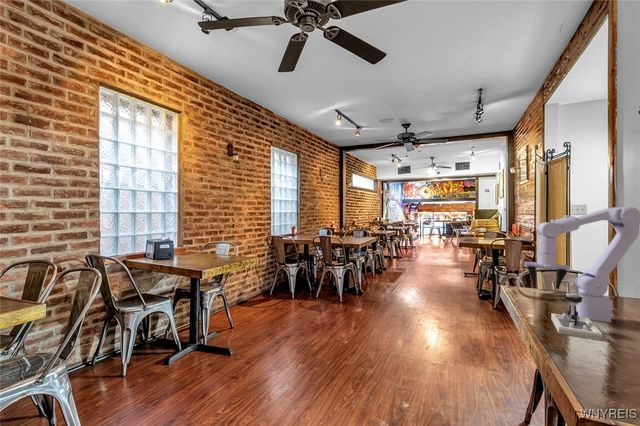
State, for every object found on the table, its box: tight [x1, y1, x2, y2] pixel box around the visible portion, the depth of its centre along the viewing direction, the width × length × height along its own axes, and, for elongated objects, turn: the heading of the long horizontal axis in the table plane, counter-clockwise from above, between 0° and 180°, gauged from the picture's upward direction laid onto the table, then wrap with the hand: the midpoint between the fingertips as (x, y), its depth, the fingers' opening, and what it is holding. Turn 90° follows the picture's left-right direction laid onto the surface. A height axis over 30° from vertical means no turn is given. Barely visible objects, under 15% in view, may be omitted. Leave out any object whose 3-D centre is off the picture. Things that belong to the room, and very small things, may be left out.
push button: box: [563, 291, 583, 324], centre depth 113 cm, size 7×5×10 cm
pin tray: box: [550, 312, 603, 341], centre depth 112 cm, size 11×16×3 cm
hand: (545, 287), depth 128 cm, fingers open, 7 cm apart
